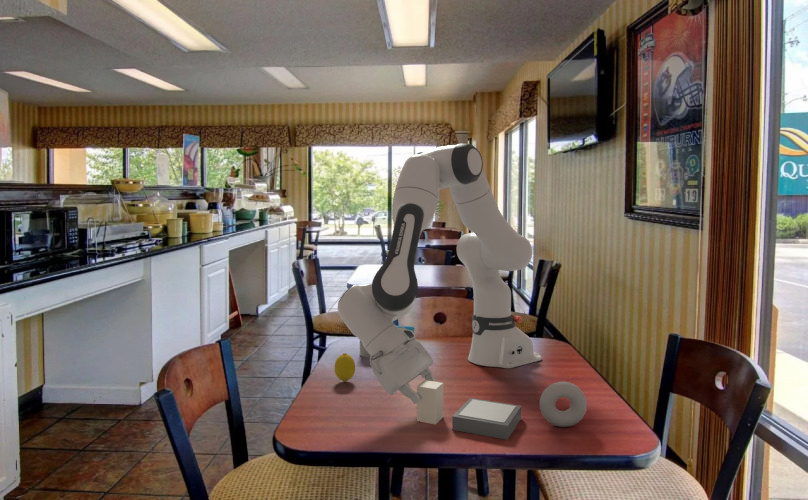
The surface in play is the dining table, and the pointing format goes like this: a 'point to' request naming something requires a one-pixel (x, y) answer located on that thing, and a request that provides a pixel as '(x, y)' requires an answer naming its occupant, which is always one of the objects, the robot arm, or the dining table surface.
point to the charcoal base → (487, 418)
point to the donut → (560, 391)
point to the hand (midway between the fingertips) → (427, 394)
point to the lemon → (344, 367)
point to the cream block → (430, 402)
